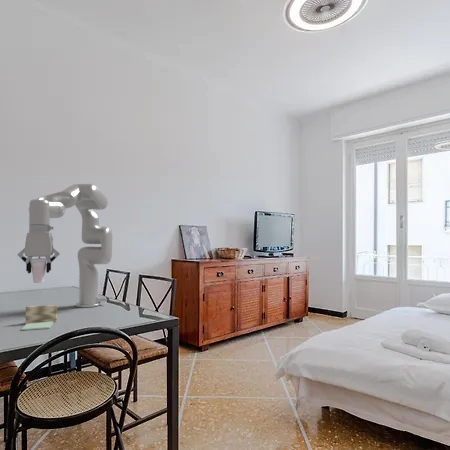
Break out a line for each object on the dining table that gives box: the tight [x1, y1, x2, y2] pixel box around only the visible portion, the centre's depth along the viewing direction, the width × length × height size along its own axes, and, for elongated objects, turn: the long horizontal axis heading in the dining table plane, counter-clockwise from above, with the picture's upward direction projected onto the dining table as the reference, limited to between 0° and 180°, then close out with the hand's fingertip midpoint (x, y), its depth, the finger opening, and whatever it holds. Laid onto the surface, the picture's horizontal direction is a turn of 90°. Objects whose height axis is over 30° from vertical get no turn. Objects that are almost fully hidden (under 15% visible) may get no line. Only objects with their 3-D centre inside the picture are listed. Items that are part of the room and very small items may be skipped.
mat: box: [20, 322, 54, 332], centre depth 146 cm, size 10×10×1 cm
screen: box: [24, 304, 58, 325], centre depth 154 cm, size 12×3×7 cm, turn 108°
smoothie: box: [30, 257, 47, 284], centre depth 147 cm, size 6×6×14 cm
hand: (38, 272), depth 147 cm, fingers closed on smoothie, 6 cm apart
